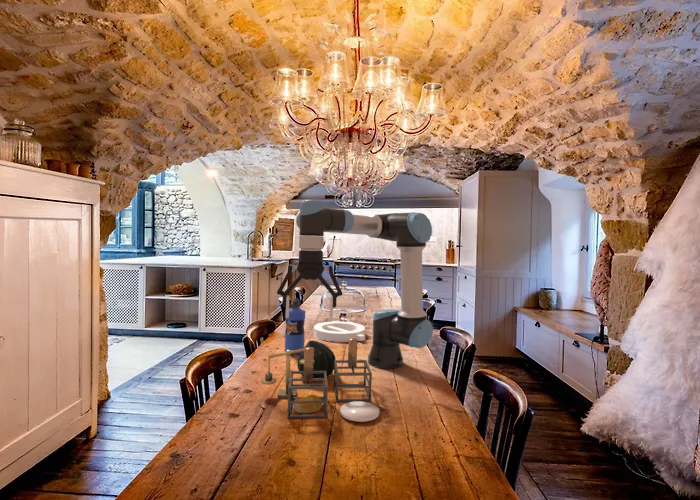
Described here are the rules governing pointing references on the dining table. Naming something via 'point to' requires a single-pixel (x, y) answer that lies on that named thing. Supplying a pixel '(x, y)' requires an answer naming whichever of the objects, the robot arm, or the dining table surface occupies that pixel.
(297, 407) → the bread roll
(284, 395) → the balance
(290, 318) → the water bottle
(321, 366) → the squash
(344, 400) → the metal bar cube frame
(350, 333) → the ring with crossbar
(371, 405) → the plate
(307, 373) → the wire frame cage
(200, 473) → the dining table surface
